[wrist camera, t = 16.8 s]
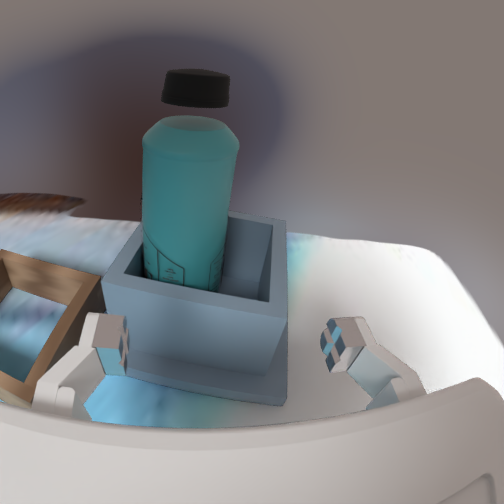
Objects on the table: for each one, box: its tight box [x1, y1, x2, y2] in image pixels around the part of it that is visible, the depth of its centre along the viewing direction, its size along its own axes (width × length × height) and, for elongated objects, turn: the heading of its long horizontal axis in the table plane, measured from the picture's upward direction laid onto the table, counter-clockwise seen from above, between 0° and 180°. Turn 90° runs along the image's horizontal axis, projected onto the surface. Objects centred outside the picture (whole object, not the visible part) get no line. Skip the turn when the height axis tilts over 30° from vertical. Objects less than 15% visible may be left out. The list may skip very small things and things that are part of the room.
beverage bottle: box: [141, 69, 239, 293], centre depth 22 cm, size 6×7×20 cm
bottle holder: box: [101, 210, 288, 406], centre depth 27 cm, size 16×16×8 cm
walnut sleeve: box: [0, 249, 106, 409], centre depth 21 cm, size 13×13×4 cm
